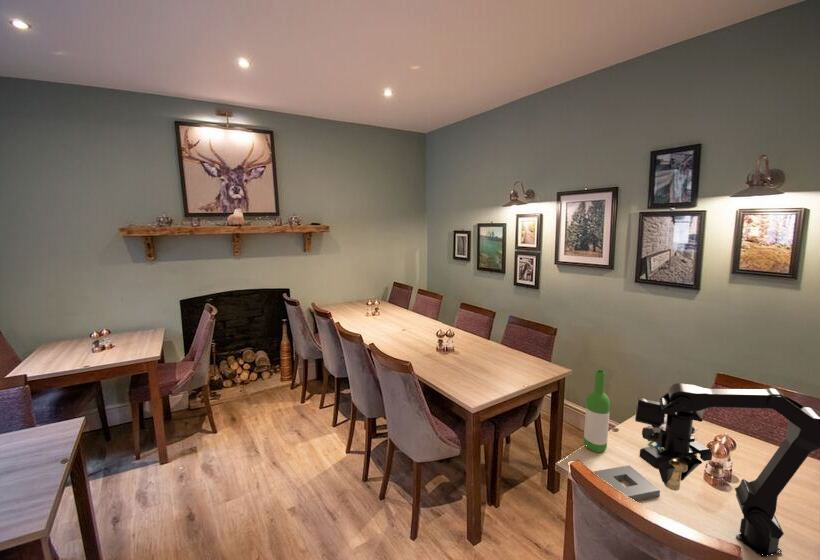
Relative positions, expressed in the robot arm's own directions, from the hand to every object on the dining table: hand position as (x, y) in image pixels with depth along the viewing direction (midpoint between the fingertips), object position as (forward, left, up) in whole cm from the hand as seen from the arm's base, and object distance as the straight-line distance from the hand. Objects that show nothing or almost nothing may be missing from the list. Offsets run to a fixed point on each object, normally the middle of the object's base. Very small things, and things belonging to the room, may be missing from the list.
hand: (672, 481), depth 103 cm
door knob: (0, 0, -2) cm, 2 cm away
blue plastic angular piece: (+25, -24, -11) cm, 36 cm away
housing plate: (+13, +3, -11) cm, 17 cm away
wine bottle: (+33, -2, -11) cm, 35 cm away
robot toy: (+34, -38, -11) cm, 52 cm away
